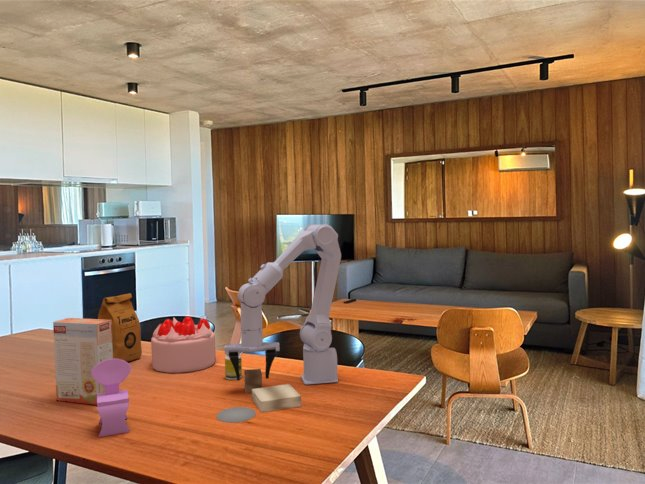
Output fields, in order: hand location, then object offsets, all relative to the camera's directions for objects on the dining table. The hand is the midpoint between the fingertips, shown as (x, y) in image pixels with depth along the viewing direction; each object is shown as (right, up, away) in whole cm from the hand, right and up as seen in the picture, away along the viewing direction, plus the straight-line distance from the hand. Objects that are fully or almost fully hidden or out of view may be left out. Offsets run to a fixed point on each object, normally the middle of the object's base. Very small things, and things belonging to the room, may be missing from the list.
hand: (252, 378), depth 139 cm
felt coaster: (-2, -4, -17) cm, 18 cm away
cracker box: (-43, -4, -5) cm, 43 cm away
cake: (-25, -3, +26) cm, 36 cm away
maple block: (+7, -4, -10) cm, 13 cm away
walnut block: (0, -3, 0) cm, 3 cm away
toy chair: (-28, -5, -23) cm, 37 cm away
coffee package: (-47, -3, +31) cm, 57 cm away
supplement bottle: (-7, -3, +11) cm, 13 cm away
